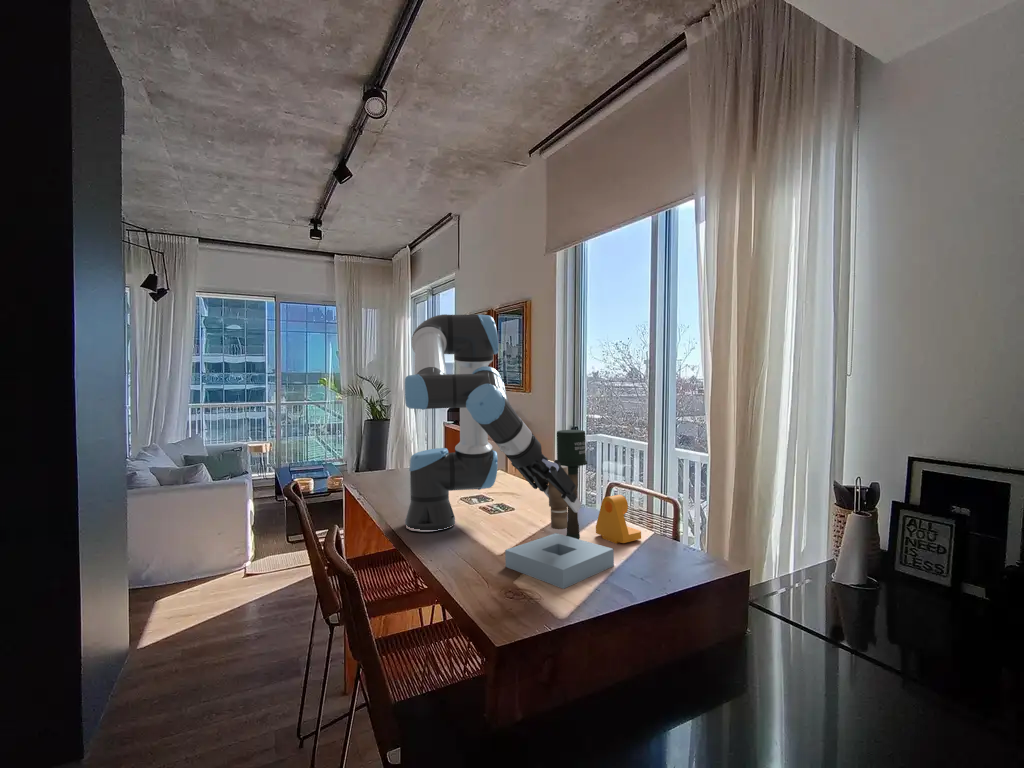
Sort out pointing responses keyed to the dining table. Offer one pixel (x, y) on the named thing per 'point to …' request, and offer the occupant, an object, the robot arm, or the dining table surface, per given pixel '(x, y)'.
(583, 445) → the potato masher grenade
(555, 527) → the peg
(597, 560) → the socket plate
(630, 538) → the bracket
